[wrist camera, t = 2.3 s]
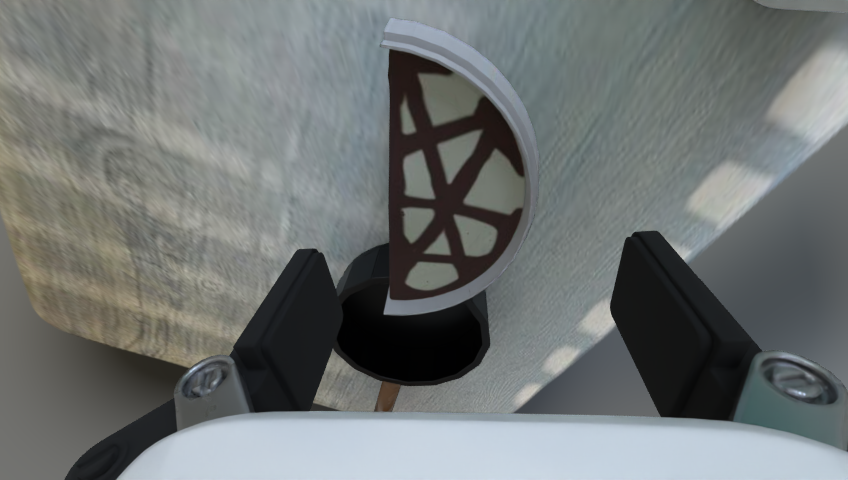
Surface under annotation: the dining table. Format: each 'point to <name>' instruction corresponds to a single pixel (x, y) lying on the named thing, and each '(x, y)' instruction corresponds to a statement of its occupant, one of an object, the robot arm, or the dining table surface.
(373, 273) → the pan
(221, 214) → the dining table surface
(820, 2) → the cylindrical container
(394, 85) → the food container
